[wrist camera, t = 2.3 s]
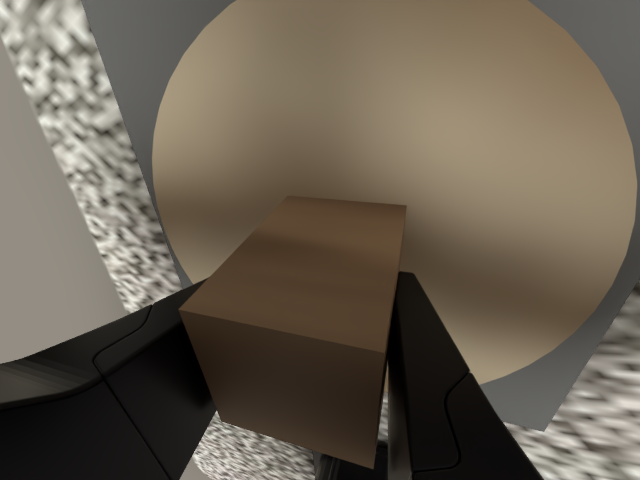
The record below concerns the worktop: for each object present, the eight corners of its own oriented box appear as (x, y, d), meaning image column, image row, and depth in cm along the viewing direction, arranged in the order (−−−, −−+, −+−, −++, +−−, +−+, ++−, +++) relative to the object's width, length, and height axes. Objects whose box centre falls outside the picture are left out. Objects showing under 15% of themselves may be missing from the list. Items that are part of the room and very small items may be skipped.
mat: (539, 417, 13) (543, 431, 12) (210, 339, 17) (204, 347, 17) (888, -180, 5) (941, -205, 4) (84, -41, 9) (64, -46, 8)
